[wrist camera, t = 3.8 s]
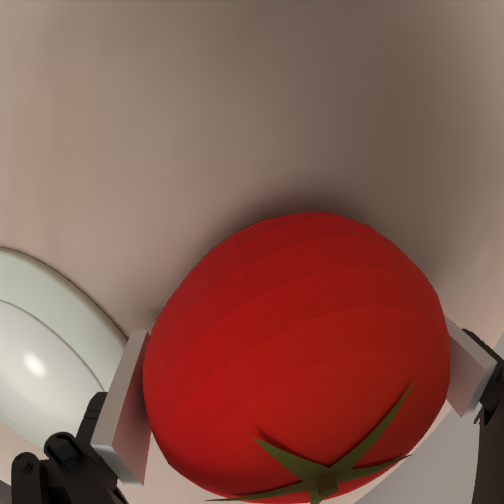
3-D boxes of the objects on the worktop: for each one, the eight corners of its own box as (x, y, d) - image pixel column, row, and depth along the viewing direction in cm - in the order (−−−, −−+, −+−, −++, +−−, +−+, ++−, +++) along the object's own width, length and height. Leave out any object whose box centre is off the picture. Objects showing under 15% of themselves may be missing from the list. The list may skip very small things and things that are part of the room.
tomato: (135, 348, 16) (88, 510, 6) (241, 151, 13) (305, 145, 3) (293, 407, 19) (332, 540, 9) (408, 263, 16) (540, 365, 6)
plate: (-78, 264, 12) (-87, 269, 11) (102, 221, 13) (92, 227, 12) (15, 438, 19) (11, 446, 17) (187, 460, 20) (187, 472, 19)
